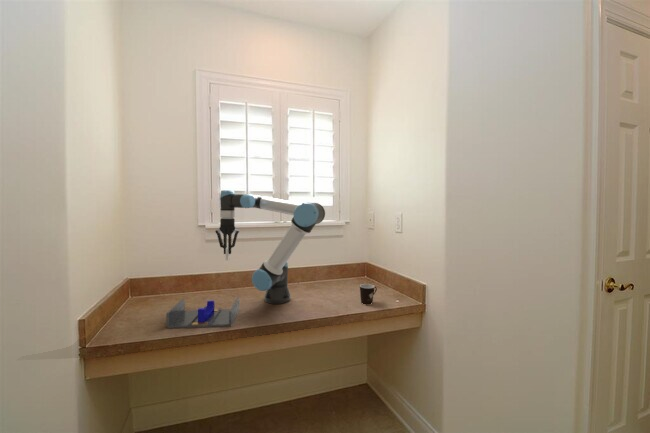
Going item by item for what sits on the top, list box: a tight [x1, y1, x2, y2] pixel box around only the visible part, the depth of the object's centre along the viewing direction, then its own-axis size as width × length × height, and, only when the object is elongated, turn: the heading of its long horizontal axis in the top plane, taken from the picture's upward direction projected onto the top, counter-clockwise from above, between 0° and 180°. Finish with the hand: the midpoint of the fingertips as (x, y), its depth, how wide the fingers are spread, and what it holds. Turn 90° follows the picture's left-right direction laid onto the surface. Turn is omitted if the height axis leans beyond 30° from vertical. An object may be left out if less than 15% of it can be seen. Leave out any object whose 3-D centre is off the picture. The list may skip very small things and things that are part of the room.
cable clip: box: [197, 300, 215, 322], centre depth 132 cm, size 12×4×6 cm, turn 1°
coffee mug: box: [359, 283, 378, 305], centre depth 158 cm, size 12×9×10 cm
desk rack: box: [165, 297, 240, 329], centre depth 133 cm, size 28×18×7 cm, turn 97°
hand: (227, 259), depth 155 cm, fingers closed
